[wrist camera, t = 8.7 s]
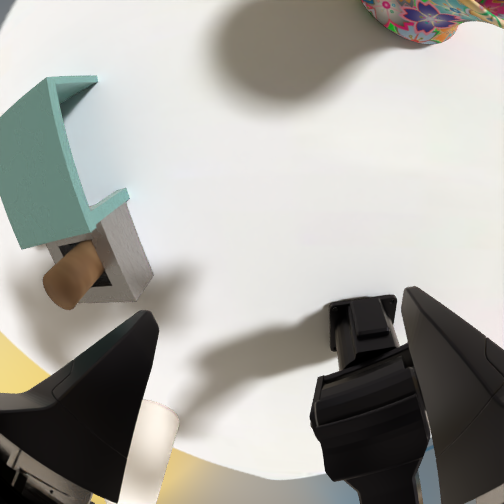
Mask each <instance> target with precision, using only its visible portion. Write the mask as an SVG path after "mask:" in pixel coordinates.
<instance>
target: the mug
mask: <svg viewBox="0 0 504 504" xmlns="http://www.w3.org/2000/svg"><path fill="white" fill-rule="evenodd" d="M361 1H362V3H363V4H364V6H365V7H366V8H367V10H368V11H369V12H370V13H371V14H372V15H373V16H374V17H375V18H376V19H377V20H378V21H379V22H380V23H381V24H382V25H384V26H385V27H386V28H388V29H389V30H391V31H392V32H394V33H396V34H397V35H399V36H401V37H403V38H406V39H408V40H411V41H414V42H418V43H423V44H438V43H442V42H444V41H446V40H448V39H449V38H451V37H452V36H453V35H454V33H455V32H456V30H457V27H458V25H459V24H461V23H464V22H468V21H480V22H486V23H490V24H493V25H496V26H498V27H501V28H503V29H504V0H361Z"/></svg>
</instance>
